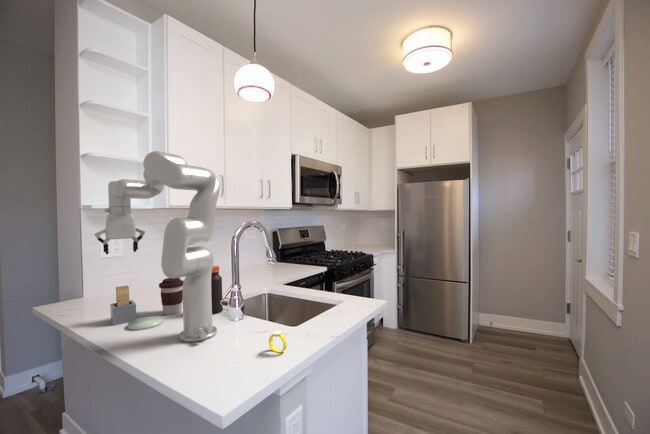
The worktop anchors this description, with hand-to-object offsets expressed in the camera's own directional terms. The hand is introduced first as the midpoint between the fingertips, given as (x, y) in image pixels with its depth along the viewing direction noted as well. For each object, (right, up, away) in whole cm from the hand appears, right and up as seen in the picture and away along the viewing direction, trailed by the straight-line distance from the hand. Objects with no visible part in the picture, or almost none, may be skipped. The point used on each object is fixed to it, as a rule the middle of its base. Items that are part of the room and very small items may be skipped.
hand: (121, 252), depth 126 cm
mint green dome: (+13, -28, -5) cm, 31 cm away
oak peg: (+1, -28, 0) cm, 28 cm away
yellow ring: (+70, -27, -32) cm, 81 cm away
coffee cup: (+16, -28, +10) cm, 34 cm away
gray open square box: (+1, -28, 0) cm, 28 cm away
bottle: (+35, -27, +9) cm, 46 cm away
